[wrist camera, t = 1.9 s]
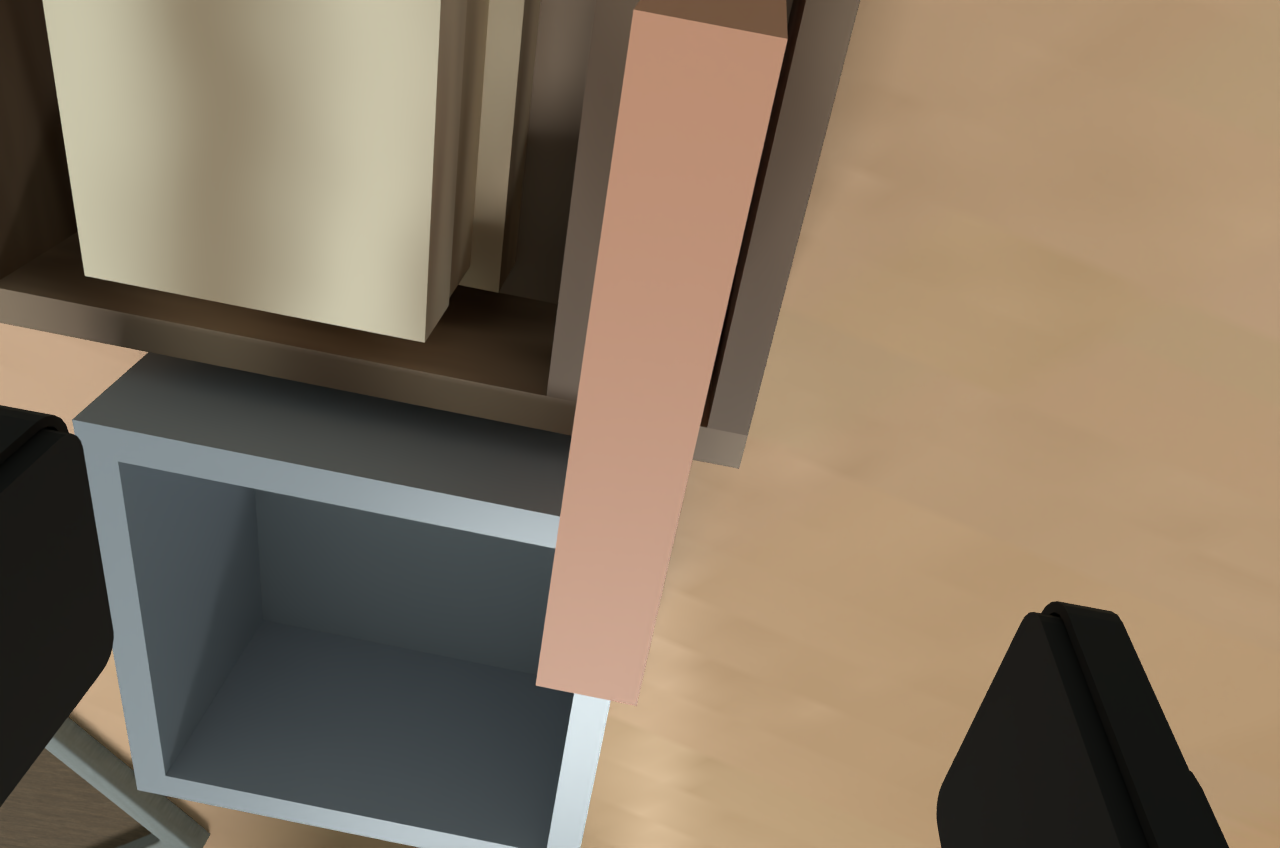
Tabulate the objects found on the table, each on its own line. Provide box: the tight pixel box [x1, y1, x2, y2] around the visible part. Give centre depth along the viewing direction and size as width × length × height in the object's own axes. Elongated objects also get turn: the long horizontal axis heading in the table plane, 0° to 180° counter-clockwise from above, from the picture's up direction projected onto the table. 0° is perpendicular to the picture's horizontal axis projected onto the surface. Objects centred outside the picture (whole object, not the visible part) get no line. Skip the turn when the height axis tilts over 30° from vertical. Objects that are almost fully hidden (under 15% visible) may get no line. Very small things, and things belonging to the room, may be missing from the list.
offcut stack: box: [42, 0, 541, 343], centre depth 23 cm, size 10×10×6 cm
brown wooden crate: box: [0, 0, 860, 469], centre depth 24 cm, size 20×14×6 cm
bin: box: [72, 352, 610, 848], centre depth 31 cm, size 14×14×8 cm
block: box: [536, 0, 788, 706], centre depth 19 cm, size 2×10×15 cm, turn 171°
